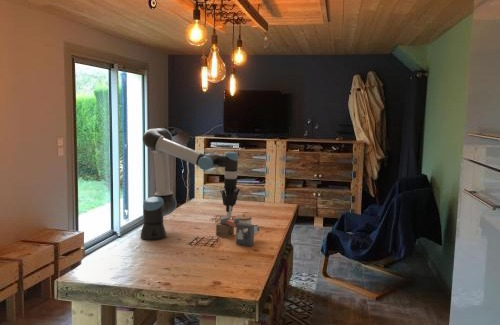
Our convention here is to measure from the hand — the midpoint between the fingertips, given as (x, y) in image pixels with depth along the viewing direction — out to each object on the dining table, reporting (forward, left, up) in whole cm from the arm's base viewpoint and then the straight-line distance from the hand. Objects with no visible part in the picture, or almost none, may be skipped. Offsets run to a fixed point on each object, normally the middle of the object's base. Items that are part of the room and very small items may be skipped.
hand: (228, 216), depth 266 cm
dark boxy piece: (-5, -14, -14) cm, 20 cm away
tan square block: (+6, +6, -14) cm, 16 cm away
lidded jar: (+26, +4, -14) cm, 29 cm away
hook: (-1, -14, -9) cm, 17 cm away
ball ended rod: (+4, +1, -6) cm, 7 cm away
